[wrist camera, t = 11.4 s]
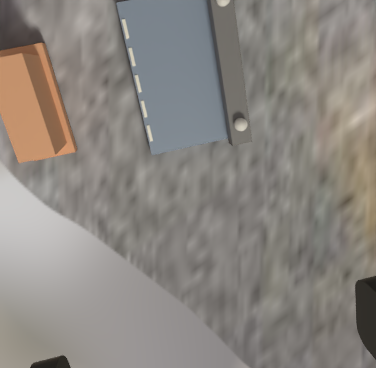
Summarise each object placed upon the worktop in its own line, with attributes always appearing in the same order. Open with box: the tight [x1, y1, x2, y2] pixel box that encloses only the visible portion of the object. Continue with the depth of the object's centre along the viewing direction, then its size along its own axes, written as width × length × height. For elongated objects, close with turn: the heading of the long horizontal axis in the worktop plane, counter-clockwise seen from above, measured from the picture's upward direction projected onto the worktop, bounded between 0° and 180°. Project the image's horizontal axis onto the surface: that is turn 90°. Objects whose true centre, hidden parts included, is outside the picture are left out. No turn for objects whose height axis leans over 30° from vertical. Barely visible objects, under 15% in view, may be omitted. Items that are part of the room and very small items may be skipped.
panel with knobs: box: [116, 0, 252, 155], centre depth 33 cm, size 15×10×3 cm, turn 11°
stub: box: [0, 43, 77, 163], centre depth 30 cm, size 10×4×6 cm, turn 11°
